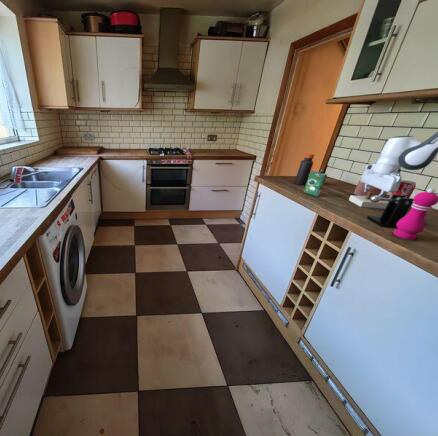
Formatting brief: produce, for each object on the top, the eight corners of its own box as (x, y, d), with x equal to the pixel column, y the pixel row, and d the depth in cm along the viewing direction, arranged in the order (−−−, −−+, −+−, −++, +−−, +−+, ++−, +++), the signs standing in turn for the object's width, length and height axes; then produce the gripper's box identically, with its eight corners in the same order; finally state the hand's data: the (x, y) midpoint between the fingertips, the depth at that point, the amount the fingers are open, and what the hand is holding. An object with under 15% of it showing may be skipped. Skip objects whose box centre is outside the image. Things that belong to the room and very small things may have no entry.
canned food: (382, 199, 131) (392, 179, 126) (358, 196, 134) (367, 176, 129) (372, 193, 141) (381, 174, 135) (350, 190, 144) (358, 172, 139)
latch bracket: (381, 226, 98) (396, 199, 93) (366, 218, 106) (379, 192, 101) (412, 229, 97) (429, 201, 91) (395, 220, 105) (410, 194, 99)
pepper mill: (386, 231, 95) (412, 185, 86) (404, 232, 94) (431, 185, 86) (403, 240, 88) (433, 191, 79) (422, 241, 88) (454, 192, 79)
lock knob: (375, 199, 122) (378, 192, 120) (377, 200, 120) (380, 193, 119) (364, 198, 122) (368, 191, 121) (367, 199, 121) (370, 192, 119)
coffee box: (319, 196, 133) (327, 174, 127) (316, 196, 132) (324, 174, 126) (305, 192, 140) (313, 170, 134) (302, 192, 138) (310, 171, 133)
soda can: (393, 206, 121) (405, 183, 115) (382, 201, 127) (394, 179, 122) (408, 207, 120) (421, 184, 114) (397, 202, 126) (409, 180, 121)
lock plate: (376, 202, 126) (378, 196, 125) (390, 209, 117) (393, 203, 116) (348, 200, 128) (350, 194, 127) (360, 206, 119) (363, 201, 118)
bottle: (292, 182, 158) (301, 153, 149) (301, 182, 158) (310, 153, 150) (299, 185, 152) (309, 155, 143) (308, 185, 152) (318, 155, 144)
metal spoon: (372, 203, 98) (375, 196, 96) (366, 200, 100) (370, 193, 99) (406, 205, 96) (410, 198, 94) (399, 203, 99) (403, 196, 97)
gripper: (410, 175, 105) (395, 202, 111) (377, 165, 123) (365, 189, 129) (395, 174, 106) (380, 201, 112) (364, 164, 124) (353, 188, 130)
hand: (372, 195), depth 121 cm, fingers open, 8 cm apart
